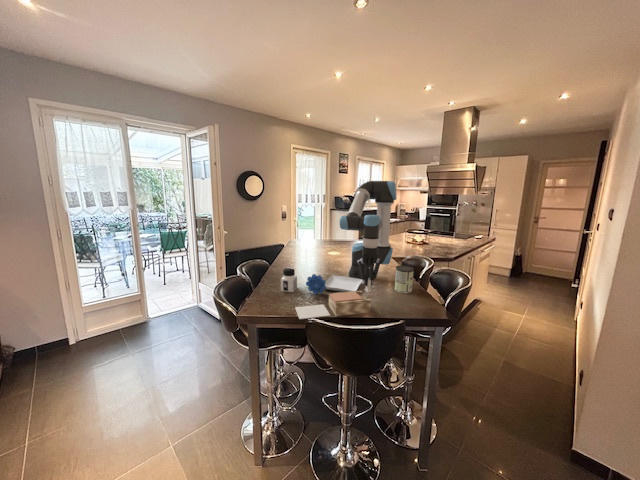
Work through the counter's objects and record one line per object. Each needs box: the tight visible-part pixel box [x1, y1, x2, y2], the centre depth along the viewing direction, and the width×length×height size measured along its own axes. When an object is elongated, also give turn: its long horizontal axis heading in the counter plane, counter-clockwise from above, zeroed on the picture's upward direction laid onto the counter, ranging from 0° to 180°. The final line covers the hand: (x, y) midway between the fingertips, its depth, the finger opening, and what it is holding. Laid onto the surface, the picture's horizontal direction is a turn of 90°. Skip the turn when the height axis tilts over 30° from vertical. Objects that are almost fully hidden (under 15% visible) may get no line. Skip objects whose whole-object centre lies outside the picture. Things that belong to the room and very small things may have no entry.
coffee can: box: [394, 265, 415, 294], centre depth 157 cm, size 10×10×14 cm
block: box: [329, 292, 362, 304], centre depth 131 cm, size 14×9×2 cm, turn 105°
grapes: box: [305, 273, 327, 295], centre depth 149 cm, size 12×7×12 cm, turn 99°
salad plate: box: [324, 274, 364, 293], centre depth 162 cm, size 21×21×3 cm
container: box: [280, 267, 298, 293], centre depth 156 cm, size 8×8×13 cm
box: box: [328, 290, 372, 317], centre depth 132 cm, size 18×12×7 cm, turn 105°
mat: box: [294, 304, 331, 320], centre depth 129 cm, size 15×12×1 cm
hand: (367, 291), depth 134 cm, fingers closed
